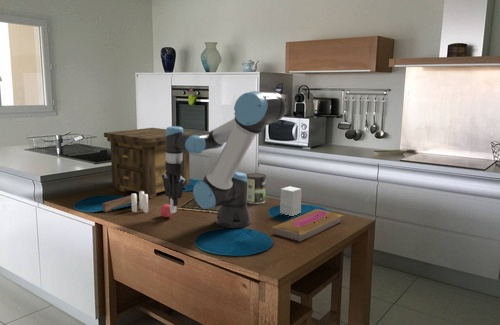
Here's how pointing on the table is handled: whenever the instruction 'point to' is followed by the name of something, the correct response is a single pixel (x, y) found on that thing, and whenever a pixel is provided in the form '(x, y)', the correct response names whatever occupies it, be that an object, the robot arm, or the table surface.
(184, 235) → the table surface
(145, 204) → the front pin
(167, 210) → the ball
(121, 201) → the backstop
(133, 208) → the pin
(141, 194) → the pin
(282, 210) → the supplement box
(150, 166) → the wooden drawer cabinet
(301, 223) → the pink-striped wooden board
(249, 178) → the coffee can
